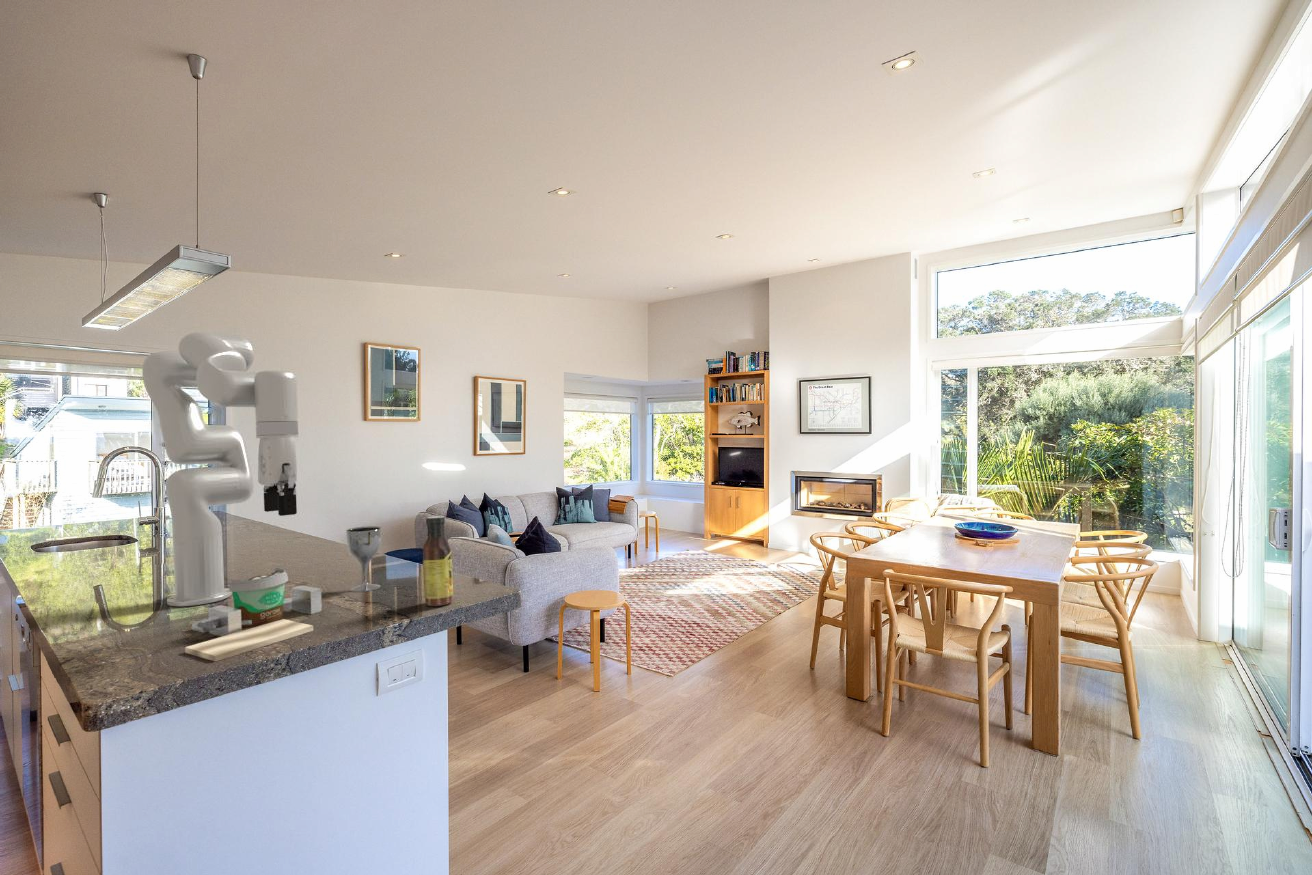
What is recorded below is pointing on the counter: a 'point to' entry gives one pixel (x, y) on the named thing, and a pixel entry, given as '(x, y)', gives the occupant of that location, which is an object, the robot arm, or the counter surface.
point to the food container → (260, 598)
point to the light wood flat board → (248, 640)
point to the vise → (230, 618)
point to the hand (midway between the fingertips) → (280, 512)
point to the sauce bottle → (437, 564)
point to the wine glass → (364, 550)
